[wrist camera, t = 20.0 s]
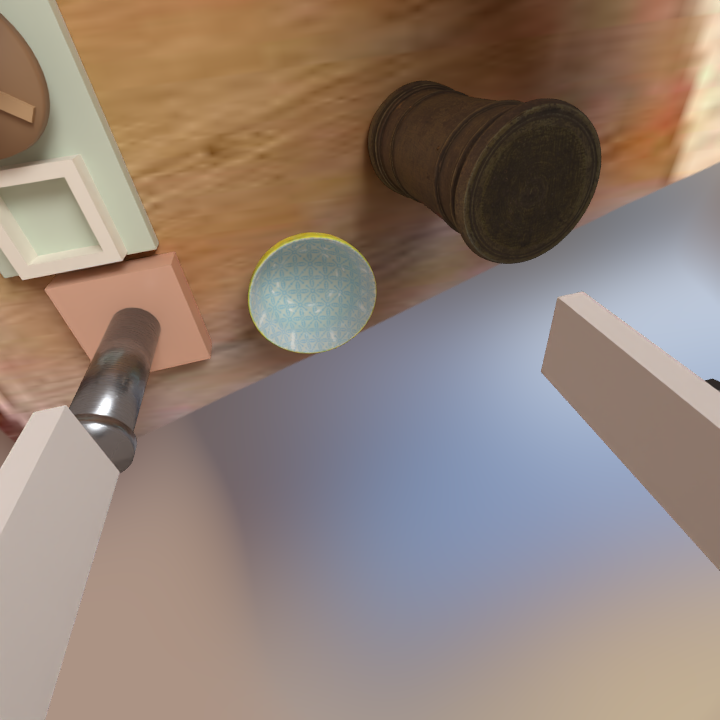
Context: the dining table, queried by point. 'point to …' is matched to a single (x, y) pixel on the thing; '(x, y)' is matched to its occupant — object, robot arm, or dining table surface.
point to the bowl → (311, 293)
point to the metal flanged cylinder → (118, 384)
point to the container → (489, 165)
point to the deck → (66, 169)
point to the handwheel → (20, 93)
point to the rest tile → (134, 305)
